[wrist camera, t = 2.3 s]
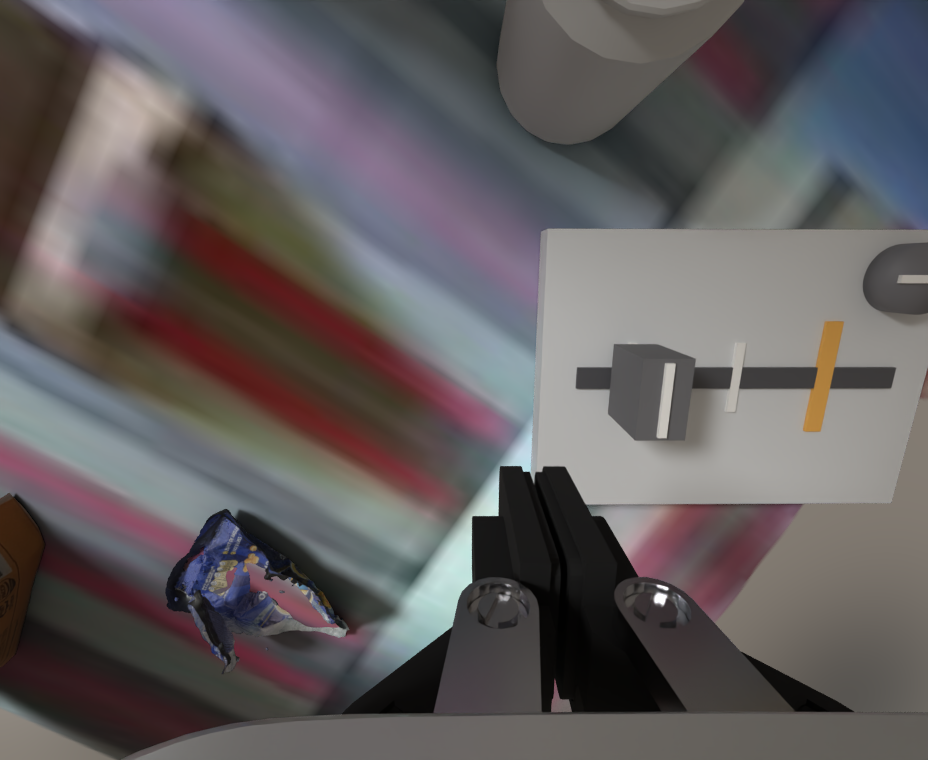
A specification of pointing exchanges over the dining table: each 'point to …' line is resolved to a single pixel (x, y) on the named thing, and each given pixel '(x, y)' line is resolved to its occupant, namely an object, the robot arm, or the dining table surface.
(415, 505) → the dining table surface
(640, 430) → the fader knob
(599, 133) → the can
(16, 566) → the pancake mix bag
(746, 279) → the console board
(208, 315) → the dining table surface
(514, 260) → the dining table surface
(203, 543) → the snack package
